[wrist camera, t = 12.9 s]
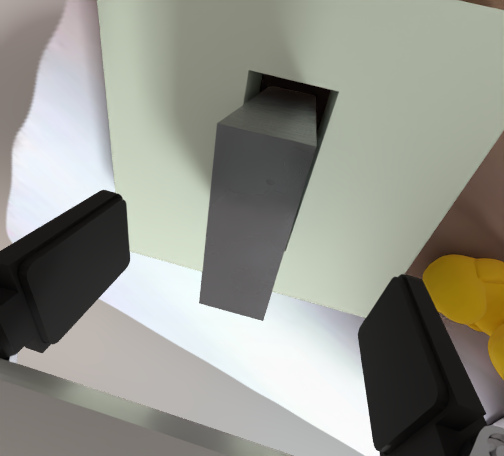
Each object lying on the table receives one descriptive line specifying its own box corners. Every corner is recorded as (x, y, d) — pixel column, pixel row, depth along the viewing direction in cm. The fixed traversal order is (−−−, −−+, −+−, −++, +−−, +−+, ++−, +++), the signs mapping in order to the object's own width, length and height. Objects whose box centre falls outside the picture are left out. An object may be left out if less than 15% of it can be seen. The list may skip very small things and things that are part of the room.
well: (501, 34, 15) (575, 25, 11) (362, 275, 25) (372, 320, 20) (148, -44, 16) (89, -80, 12) (152, 217, 26) (121, 248, 22)
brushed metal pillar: (315, 95, 18) (316, 146, 8) (285, 202, 22) (263, 320, 12) (270, 85, 18) (217, 123, 8) (250, 193, 23) (199, 303, 13)
